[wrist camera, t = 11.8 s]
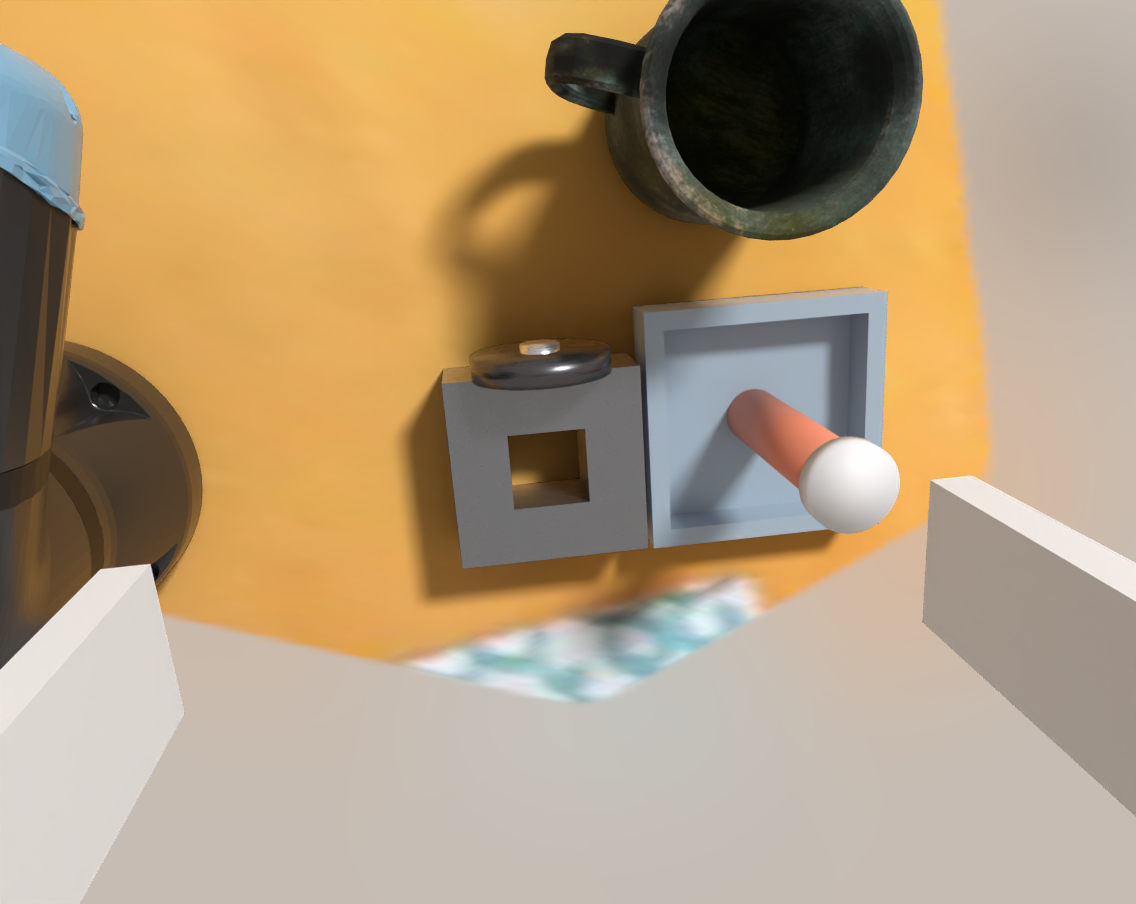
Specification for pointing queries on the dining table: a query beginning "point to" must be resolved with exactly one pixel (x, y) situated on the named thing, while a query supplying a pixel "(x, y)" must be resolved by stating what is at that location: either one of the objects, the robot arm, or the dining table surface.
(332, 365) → the dining table surface
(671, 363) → the tray
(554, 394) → the block
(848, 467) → the pin
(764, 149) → the mug
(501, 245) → the dining table surface
